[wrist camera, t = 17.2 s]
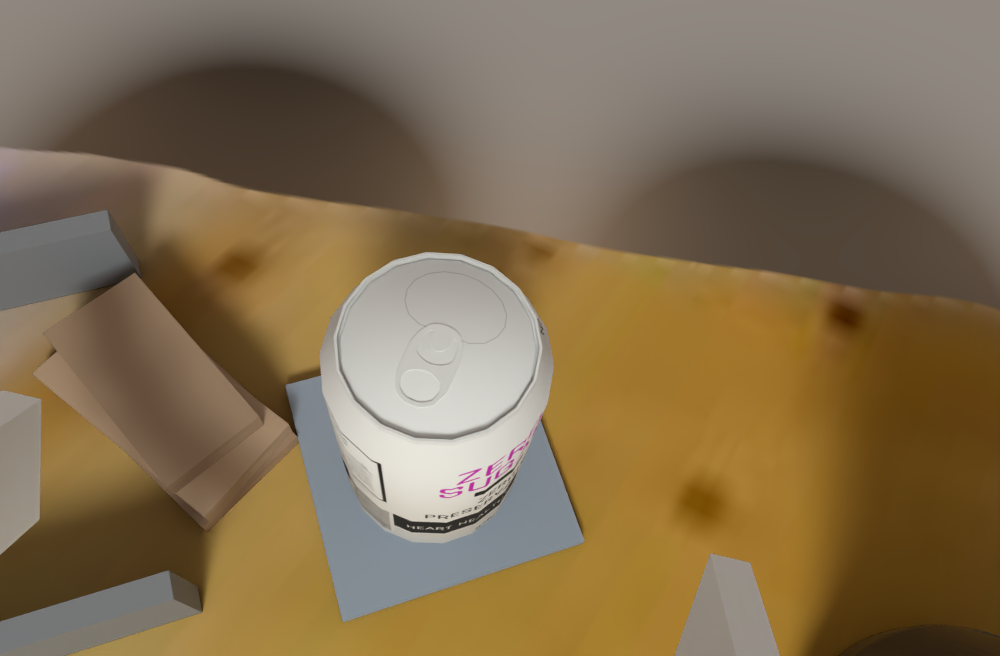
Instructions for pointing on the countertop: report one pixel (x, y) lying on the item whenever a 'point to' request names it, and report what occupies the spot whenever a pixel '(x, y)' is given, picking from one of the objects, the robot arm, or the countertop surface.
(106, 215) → the grey three-walled tray
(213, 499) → the walnut offcut stack
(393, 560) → the slate mat
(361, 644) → the countertop surface
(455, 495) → the supplement can
